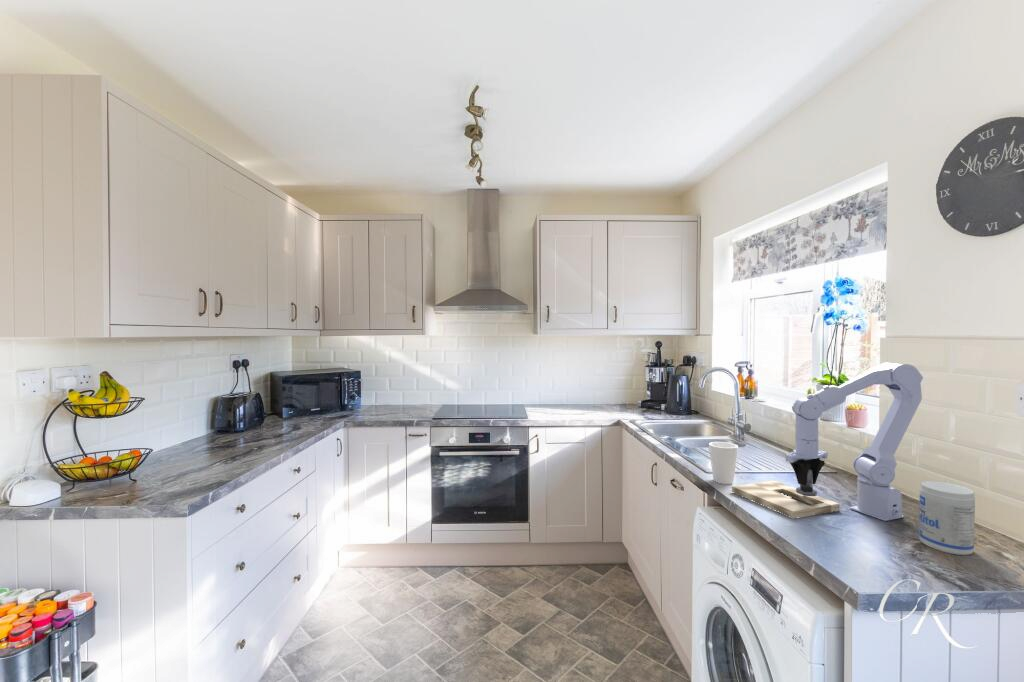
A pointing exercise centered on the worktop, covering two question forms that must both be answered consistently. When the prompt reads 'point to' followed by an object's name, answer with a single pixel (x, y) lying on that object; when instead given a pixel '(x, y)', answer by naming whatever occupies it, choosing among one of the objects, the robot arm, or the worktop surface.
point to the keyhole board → (785, 499)
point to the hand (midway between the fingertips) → (806, 483)
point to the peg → (807, 486)
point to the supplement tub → (947, 517)
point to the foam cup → (723, 461)
